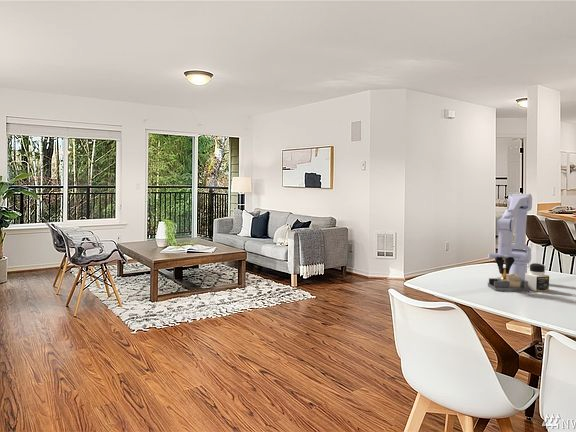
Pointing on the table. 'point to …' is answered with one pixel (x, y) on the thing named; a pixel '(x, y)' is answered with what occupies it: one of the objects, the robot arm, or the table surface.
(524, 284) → the press frame
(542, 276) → the medicine bottle
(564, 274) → the table surface
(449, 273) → the table surface
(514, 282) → the light wooden block
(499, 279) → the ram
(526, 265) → the robot arm
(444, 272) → the table surface
